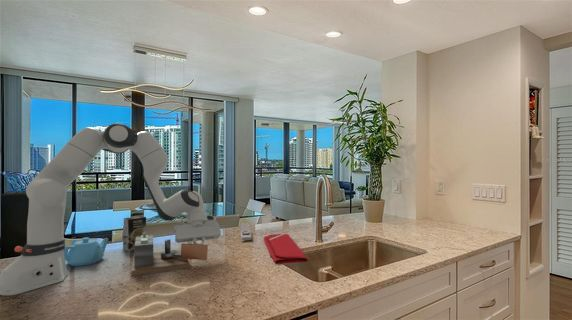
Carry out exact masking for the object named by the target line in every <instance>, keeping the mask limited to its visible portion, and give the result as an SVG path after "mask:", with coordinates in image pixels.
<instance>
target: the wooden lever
mask: <svg viewBox="0 0 572 320" xmlns="http://www.w3.org/2000/svg"><path fill="white" fill-rule="evenodd" d="M180 246H181V247H180V250H181V254H179V253H177V251H176V250H177V249H171V239H164V251H160V252H161V258H163V259H170V258H183V259H188V260H196V261H197V260H199V261H208V258H209V257H208V255H209V254H208V252H209V251H208V246H209V245H208V244H203V245H200V243H198V244H193V243H185V242H181V243H180Z"/></svg>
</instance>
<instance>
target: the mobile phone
mask: <svg viewBox="0 0 572 320" xmlns="http://www.w3.org/2000/svg"><path fill="white" fill-rule="evenodd" d="M239 226H240V237H241V240H242V242H243V243H245V242H246V241H252V234H251V231H250V226H251V225H250V223H249V222H246V223H245V222H244V223H240V224H239Z"/></svg>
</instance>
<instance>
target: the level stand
mask: <svg viewBox="0 0 572 320" xmlns="http://www.w3.org/2000/svg"><path fill="white" fill-rule="evenodd" d="M175 250H176V251H177V253H179V254H181V249H175ZM161 252H162V251H155V252H154V235H152V234H151V235H148V234H147V231H146V232H144V233H143V234H142V236H138V237H136V240H135V250H134V254H133V255H132V256H133V258H132V264H131V270H130V275H131V276H132V277H133V276H140V275H141V276H142V275H148V274H154V273H162V272H170V271H176V270H184V269H189V268H190V262H189V259H183V258H170V259H163V258H161Z"/></svg>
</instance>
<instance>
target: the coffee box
mask: <svg viewBox="0 0 572 320" xmlns="http://www.w3.org/2000/svg"><path fill="white" fill-rule="evenodd" d="M122 232H123V233H122V235H123V236H122V250H124V251H127V252H132V251H135V240H136V237H138V236H142V234H143V233H144V232H146V233H147V217H146V216H142V215H139V216H137V215H136V216H131V217H124V218H123V231H122Z"/></svg>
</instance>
